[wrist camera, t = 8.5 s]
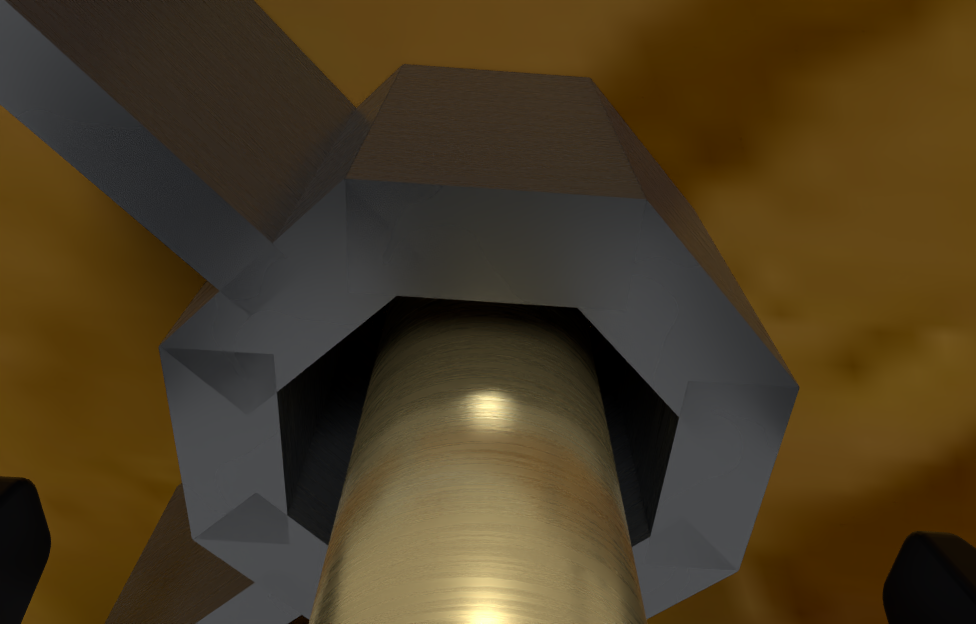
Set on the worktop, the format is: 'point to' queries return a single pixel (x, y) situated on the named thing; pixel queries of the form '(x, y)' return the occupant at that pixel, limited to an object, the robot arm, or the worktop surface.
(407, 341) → the brass pin
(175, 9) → the grey hollow finned part
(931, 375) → the worktop surface
